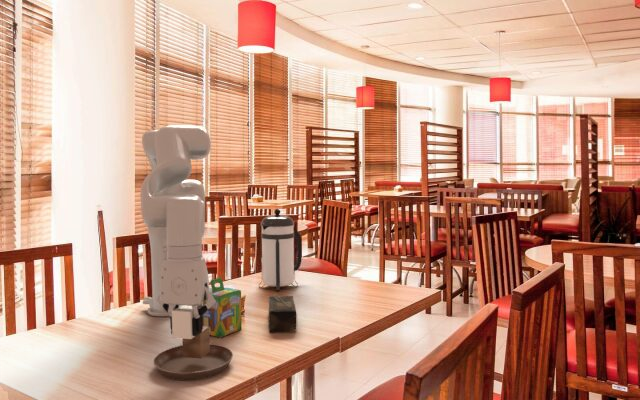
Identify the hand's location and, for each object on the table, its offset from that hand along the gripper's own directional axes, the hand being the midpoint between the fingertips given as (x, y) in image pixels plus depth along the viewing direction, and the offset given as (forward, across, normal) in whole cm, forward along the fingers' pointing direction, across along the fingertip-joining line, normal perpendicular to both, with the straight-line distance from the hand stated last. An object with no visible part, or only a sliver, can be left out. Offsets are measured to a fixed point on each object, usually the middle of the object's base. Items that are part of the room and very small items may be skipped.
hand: (186, 332), depth 115 cm
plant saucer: (+10, 0, +3) cm, 10 cm away
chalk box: (+9, -6, +28) cm, 30 cm away
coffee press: (+8, -8, +83) cm, 84 cm away
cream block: (+1, 0, 0) cm, 1 cm away
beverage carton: (+9, +8, +40) cm, 42 cm away
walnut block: (+7, 0, +5) cm, 8 cm away
